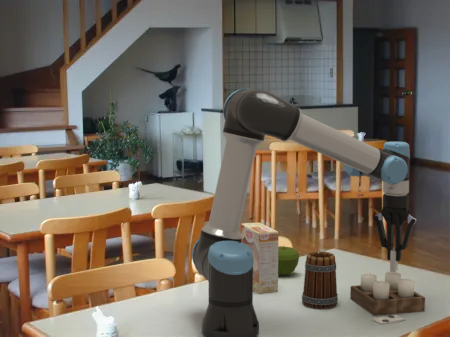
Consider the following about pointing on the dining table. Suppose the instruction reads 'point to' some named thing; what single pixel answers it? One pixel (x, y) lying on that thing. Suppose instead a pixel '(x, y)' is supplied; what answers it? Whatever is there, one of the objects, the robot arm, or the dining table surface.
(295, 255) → the apple
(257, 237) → the coffeecake box
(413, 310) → the wooden compartment tray
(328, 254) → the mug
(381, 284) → the button
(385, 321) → the card
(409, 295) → the button
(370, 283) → the button
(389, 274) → the button
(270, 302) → the dining table surface
